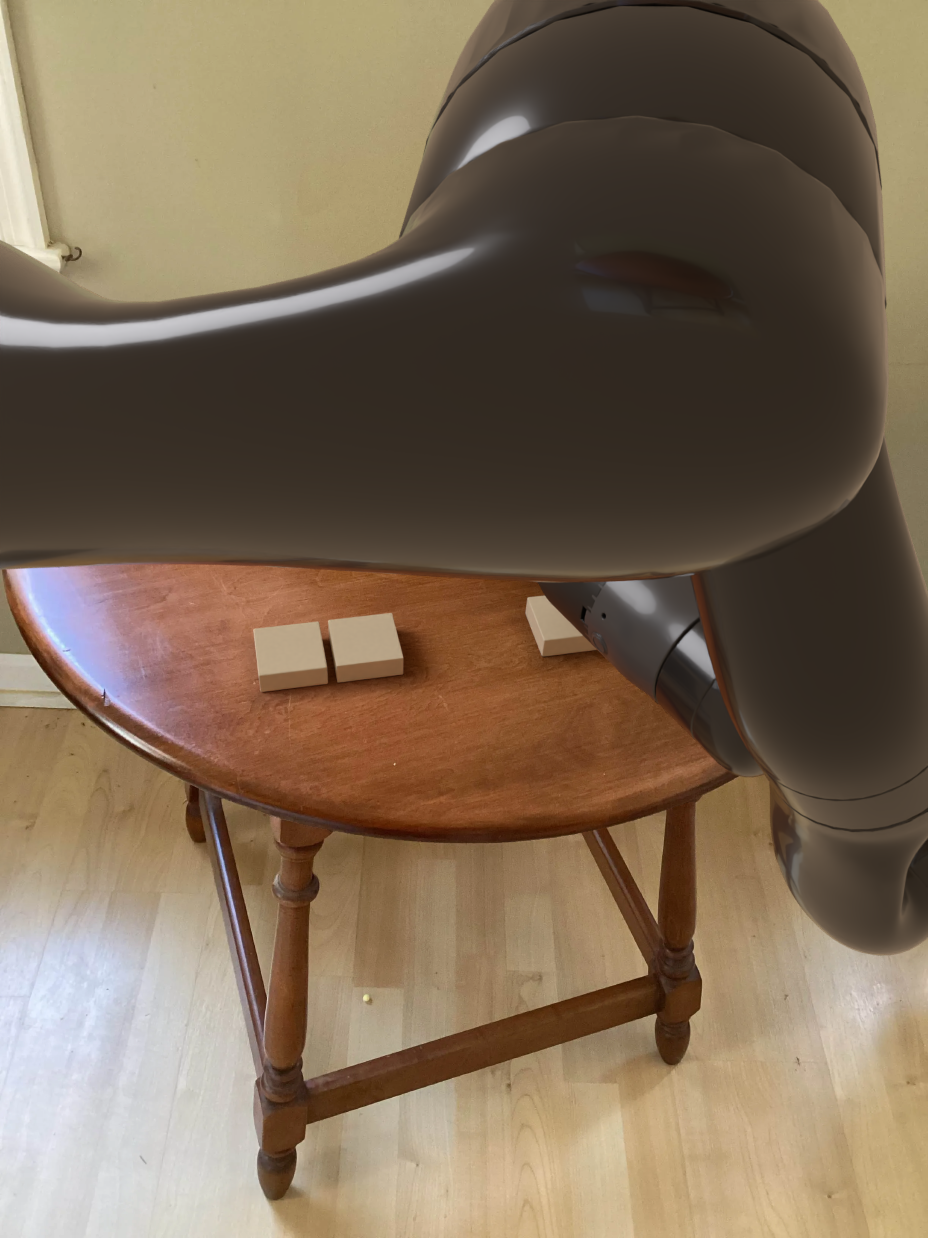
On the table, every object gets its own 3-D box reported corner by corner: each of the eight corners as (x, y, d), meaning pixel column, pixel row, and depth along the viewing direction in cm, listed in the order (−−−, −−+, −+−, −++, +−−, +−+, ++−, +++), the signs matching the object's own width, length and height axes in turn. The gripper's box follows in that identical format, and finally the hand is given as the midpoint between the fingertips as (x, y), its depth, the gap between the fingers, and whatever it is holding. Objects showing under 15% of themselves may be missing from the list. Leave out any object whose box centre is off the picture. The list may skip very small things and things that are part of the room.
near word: (260, 692, 68) (258, 675, 67) (255, 645, 71) (253, 628, 70) (602, 649, 72) (606, 632, 71) (583, 606, 75) (586, 590, 74)
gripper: (770, 498, 54) (571, 350, 64) (544, 588, 48) (364, 409, 58) (735, 606, 59) (556, 453, 69) (528, 700, 53) (365, 517, 63)
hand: (470, 434), depth 63 cm, fingers closed on beverage can, 5 cm apart
